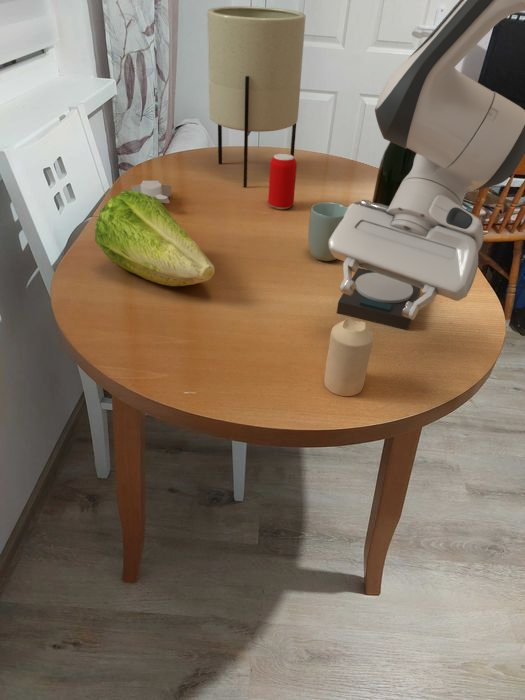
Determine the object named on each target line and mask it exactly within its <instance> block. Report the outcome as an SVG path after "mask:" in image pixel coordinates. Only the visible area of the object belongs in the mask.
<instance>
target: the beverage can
mask: <svg viewBox="0 0 525 700" xmlns="http://www.w3.org/2000/svg"><path fill="white" fill-rule="evenodd" d="M297 167H298V163H297V161H296V158H295V156H294V157H293V156H292V155H290V154H289V153H277V154H275V155H273V157H272V158H271V160H270V163H269V177H268V179H269V180H268V196H267V197H268V198H267V201H268V204H269V206H270V207H272V208H273V209H276V210H281V211H282V210H287V209H289V208H292V207H293V206H294V202H295V191H296V190H295V189H296V180H297V179H296V178H297Z"/></svg>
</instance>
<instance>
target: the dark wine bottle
mask: <svg viewBox="0 0 525 700" xmlns="http://www.w3.org/2000/svg"><path fill="white" fill-rule="evenodd" d="M416 154H417V153H416V152H414V151H412V150H410V149H408V148H404V147H401V146H399V145H397V144H395V143H392V142H390V141H388V144H387V146H386V148H385V150H384V152H383V154H382V157H381V160H380V162H379V167H378V171H377V175H376V181H375V186H374V191H373V196H372V201H371V202H373V203H378V204H383V205H386V206H390V204H391V202H392V200H393V198H394V196H395V194H396V192H397V190H398V188H399V187H400V185H401V183H402V181H403V179H404V178H405V177H406V176H407V175H408V174H409V173H410V171H411V170H412V167H413V163H414V158H415V156H416Z"/></svg>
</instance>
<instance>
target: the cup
mask: <svg viewBox="0 0 525 700" xmlns="http://www.w3.org/2000/svg"><path fill="white" fill-rule="evenodd" d="M348 207H349V206H346V205H344V204H343V203H340V202H339V203H338V202H333V201H332V202H331V201H327V202H326V201H323V202H318V203H314V204H313V205H311V207H310V210H309V211H310V212H309V219H308V229H307V230H308V232H307V245H308V250H309V253H310V254H311V256H313V257H314V258H315V259H317V260H319V261H321V262H331V261H335V260H338V259H337V258H335V257H334V256H333V255H332V253H331V251H330V249H329V245H328V242H329V239H330V237H331V236H332V234H333V232H334V231H335V229H336V228H337V226H338V225H339V223H340V222H341V221H342V219H343V218H344V215H345V213H346V211H347V209H348Z"/></svg>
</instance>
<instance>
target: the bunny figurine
mask: <svg viewBox="0 0 525 700" xmlns="http://www.w3.org/2000/svg"><path fill="white" fill-rule="evenodd" d="M130 191H137V192H140V193H143V194H146V195H148V196H151V197H153V198H156V199H158V200H159V201H160V202H161V203H162V204H163V205H164V204H170V203H171V202H170V199H169V197H171V196H172V185H169V184H163V183H161V181H160V180H141V183H140V184H135V185H132V186H130Z"/></svg>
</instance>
